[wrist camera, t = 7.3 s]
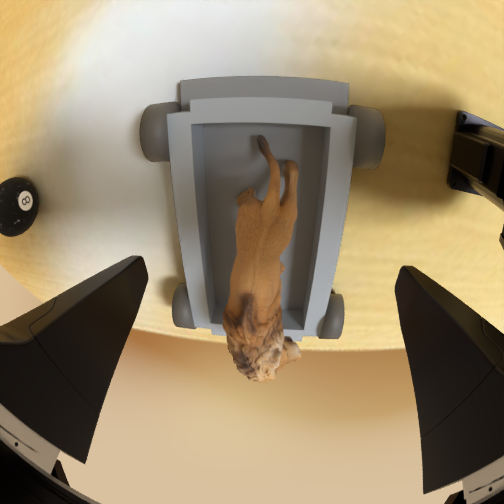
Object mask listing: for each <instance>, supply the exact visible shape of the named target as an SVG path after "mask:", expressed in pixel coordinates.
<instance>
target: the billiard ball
mask: <svg viewBox="0 0 504 504" xmlns="http://www.w3.org/2000/svg"><path fill="white" fill-rule="evenodd" d="M37 212H38V198H37V194H36V191H35V189H34V188H33V186H32V185H31V184H30V183H29V182H28V181H27V180H25V179H23V178H19V177H14V178H10V179H7V180H5V181H4V182H2V183H1V184H0V233H1V234H3V235H5V236H8V237H13V236H18V235H20V234H22V233H24V232H25V231H26V230H28V229H29V228H30V226H31V225H32V224H33V222H34V220H35V218H36V216H37Z"/></svg>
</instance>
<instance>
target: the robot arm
mask: <svg viewBox="0 0 504 504" xmlns="http://www.w3.org/2000/svg"><path fill="white" fill-rule="evenodd" d="M462 115H463V116H464V119H462ZM453 180H454V183H453V184H452V181H453ZM447 185H448V186H449V187H450V188H452V189H455V190H459V191H464V192H468V193H472V194H476V195H480V196H484V197H485V198H487V199H488V200H489V201H491V202H492V203H493V204H495V205H496V206H497V207H499V208H500V209H501V210H502V211H504V129H503V128H501V127H499V126H497V125H495V124H492V123H490V122H488V121H486V120H484V119H482V118H479V117H477V116H475V115H472V114H470V113H467V112H465V111H459V112H458V113H457V120H456V129H455V135H454V142H453V149H452V155H451V161H450V168H449V174H448V179H447ZM499 241H500V243H501V245H502V247H503V249H504V225H503V230H502V233H501V234H500V239H499ZM147 282H148V272H147V269H146V265H145V262H144V259H143V257H142V256H130V257H128V258H126V259H124V260H122V261H120V262H118V263H116V264H114V265H112V266H110V267H109V268H107V269H105V270H103V271H101V272H99V273H97V274H95V275H94V276H92V277H90V278H88V279H86V280H84V281H83V282H81V283H79V284H77V285H75V286H74V287H72V288H70V289H68V290H66V291H65V292H63V293H61V294H59V295H58V296H56V297H54V298H52V299H51V300H49V301H47V302H45V303H44V304H42V305H40V306H39V307H36V308H35V309H33V310H31V311H29V312H27V313H25V314H23V315H21V316H20V317H18V318H16V319H14V320H12V321H10V322H8V323H6V324H4V325H2V326H0V504H100V503H98V502H96V501H94V500H92V499H90V498H89V497H87V496H85V495H83V494H81V493H79V492H78V491H76V490H74V489H72V488H71V487H70V486H69V483H68V481H67V478H66V476H65V473H64V470H63V467H62V465H61V462H60V461H59V460H57V457H58V455H59V452H60V451H62V452H64V453H65V454H67V455H69V456H70V457H72V458H74V459H76V460H78V461H80V462H82V463H83V464H85V463H86V460H87V456H88V452H89V449H90V445H91V442H92V438H93V435H94V431H95V428H96V425H97V421H98V418H99V415H100V412H101V409H102V405H103V402H104V400H105V397H106V394H107V390H108V388H109V385H110V382H111V379H112V377H113V374H114V371H115V369H116V366H117V363H118V361H119V358H120V355H121V353H122V350H123V348H124V345H125V343H126V340H127V338H128V335H129V333H130V331H131V328H132V326H133V323H134V321H135V319H136V316H137V313H138V310H139V307H140V304H141V301H142V298H143V295H144V292H145V288H146V285H147ZM395 296H396V301H397V307H398V313H399V319H400V326H401V331H402V335H403V339H404V343H405V347H406V352H407V356H408V361H409V365H410V370H411V375H412V381H413V386H414V392H415V397H416V404H417V411H418V419H419V427H420V437H421V451H422V466H423V494H426V493H429V492H432V491H435V490H438V489H441V488H444V487H446V486H449V485H451V484H454V483H456V482H459V481H461V480H462V482H463V490H461V491H459V492H457V493H454V494H452V495H450V496H449V497H448V499H447V500H446V502H445V503H444V504H504V334H503V333H502V332H500V331H499V330H498V329H497V328H495V327H494V326H493V325H492V324H490V323H489V322H488V321H487V320H485V319H484V318H483V317H482V318H481V316H480V315H479V314H478V313H477V312H475V311H474V310H473V309H471V308H470V307H469V306H468V305H466V304H465V303H464V302H462V301H461V300H460V299H458V298H457V297H456V296H454V295H453V294H452V293H450V292H449V291H448V290H446V289H445V288H444V287H442V286H441V285H439V284H438V283H437V282H435V281H434V280H432V279H431V278H430V277H428V276H427V275H425V274H424V273H422V272H421V271H419V270H418V269H417V268H415V267H414V266H402V267H401V269H400V271H399V275H398V278H397V281H396V284H395Z"/></svg>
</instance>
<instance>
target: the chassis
mask: <svg viewBox="0 0 504 504" xmlns="http://www.w3.org/2000/svg"><path fill="white" fill-rule="evenodd" d="M180 92H181V106H180V104H179V103H177V102H167V103H160V104H153V105H150V106H148V107H147V108H146V109H145V111H144V113H143V115H142V118H141V123H140V142H141V147H142V150H143V153H144V155H145V156H146V158H147V159H148V160H149V161H151V162H160V161H170V165H171V175H172V185H173V194H174V203H175V211H176V219H177V226H178V234H179V241H180V247H181V254H182V260H183V266H184V272H185V278H186V284H179V285H178V286H177V288H176V290H175V293H174V297H173V302H172V317H173V322H174V324H175V326H176V327H182V328H189V329H196V328H197V327H199V328H207V329H211V332H212V335H221V336H227V334H226V332H225V331H224V329H223V325H222V324H223V312H224V309H225V307H226V305H227V303H228V298H229V294H230V277H231V272H232V269H233V265H234V261H235V258H236V255H237V244H236V230H235V226H236V221H237V213H238V209H239V208H240V207H239V206H238V204H237V201H236V200H237V197H238V196H239V194H240V193H241V192H243V191H246V190H248V189H249V188H254V189H255V192H256V198H257V199H259V200H260V201H263V199H264V198H265V197H266V195H267V191H268V186H269V182H270V168H269V164H268V162H267V160H266V159H265V157H264V156H263V154H262V153H261V152H260V150H259V145H258V142H257V136H258V135H263V136H264V137H265V138H266V140H267V142H268V143H269V149H270V151H271V153H272V154H273V156H274V158H275V159H276V161H277V163H278V165H279V169H280V199H281V197H282V195H283V193H284V190H285V178H284V176H283V175H282V166H283V164H284V162H285V161H287V160H292V161H295V162H296V163H297V165H298V170H299V172H298V179H297V188H296V193H297V218H296V221H295V222H294V226H293V232H292V237H291V240H290V242H289V244H288V246H287V247H286V249H285V250H284V251H283V253H282V254H281V256H280V262H282V263H283V264H284V266H285V270H284V271H283V273H282V274H280V278H281V283H282V288H281V301H280V305H281V307H282V323H281V324H282V325H283V327H284V330H283V333H284V336H290V337H291V338H292V340H293V341H302V337H303V336H318V338H319V339H339V337H340V336H341V333H342V329H343V324H344V301H343V297H342V295H341V294H330V293H331V289H332V284H333V280H334V275H335V270H336V265H337V261H338V256H339V250H340V245H341V240H342V234H343V229H344V223H345V217H346V210H347V204H348V197H349V190H350V183H351V175H352V167H355V168H363V169H371V170H374V169H376V168H377V167H378V165H379V164H380V162H381V159H382V156H383V152H384V146H385V125H384V120H383V116H382V114H381V112H380V111H379V110H378V109H373V108H368V107H362V106H356V105H351V106H350V107H349V108H348V94H349V83H344V82H337V81H329V80H321V79H311V78H298V77H279V76H232V77H214V78H201V79H191V80H182V81H180Z"/></svg>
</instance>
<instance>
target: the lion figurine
mask: <svg viewBox="0 0 504 504" xmlns="http://www.w3.org/2000/svg"><path fill="white" fill-rule="evenodd" d="M257 142H258V145H259V150H260V152H261V153H262V154H263V156H264V157H265V159H266V160H267V162H268V164H269V168H270V182H269V186H268V191H267V195H266V197H265V198H264V199H263V201H260V200H259V199H257V198H256V192H255V189H254V188H249V189H248V190H246V191H243V192H241V193H240V194H239V196H238V197H237V200H236V201H237V204H238V206H239V207H240V208H239V209H238V213H237V221H236V226H235V230H236V244H237V255H236V258H235V261H234V265H233V269H232V272H231V277H230V294H229V298H228V303H227V305H226V307H225V309H224V312H223V324H222V325H223V329H224V331H225V332H226V334H227V343H228V350H229V352H230V353H231V354H232V356H233V361H234V363H235V364H236V366H237V369H238V370H239V372H241V373H242V374H243V375H246V376H247V377H248V379H249V380H253V381H257V382H261V383H266V382H268V381H271V380H274V379H275V378H276V371H277V370H280V369H282V368H283V367H284V365H285V364H287V363H290V362H293V361H296V360H298V359H299V358H300V357H301V353H300V351H299V346H298V345H297V344H296V343H295V342H293V340H292V338H291V337H290V336H284V333H283V330H284V327H283V325H282V324H281V323H282V307H281V305H280V301H281V288H282V283H281V278H280V274H282V273H283V271H284V270H285V266H284V264H283V263H282V262H280V256H281V254H282V253H283V251H284V250H285V249H286V247H287V246H288V244H289V242H290V240H291V237H292V232H293V226H294V222H295V221H296V218H297V193H296V188H297V179H298V172H299V170H298V165H297V163H296V162H295V161H292V160H287V161H285V162H284V164H283V166H282V175H283V176H284V178H285V190H284V193H283V195H282V197H281V199H280V169H279V165H278V163H277V161H276V159H275V158H274V156H273V154H272V153H271V151H270V149H269V143H268V142H267V140H266V138H265V137H264V136H263V135H258V136H257Z"/></svg>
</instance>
